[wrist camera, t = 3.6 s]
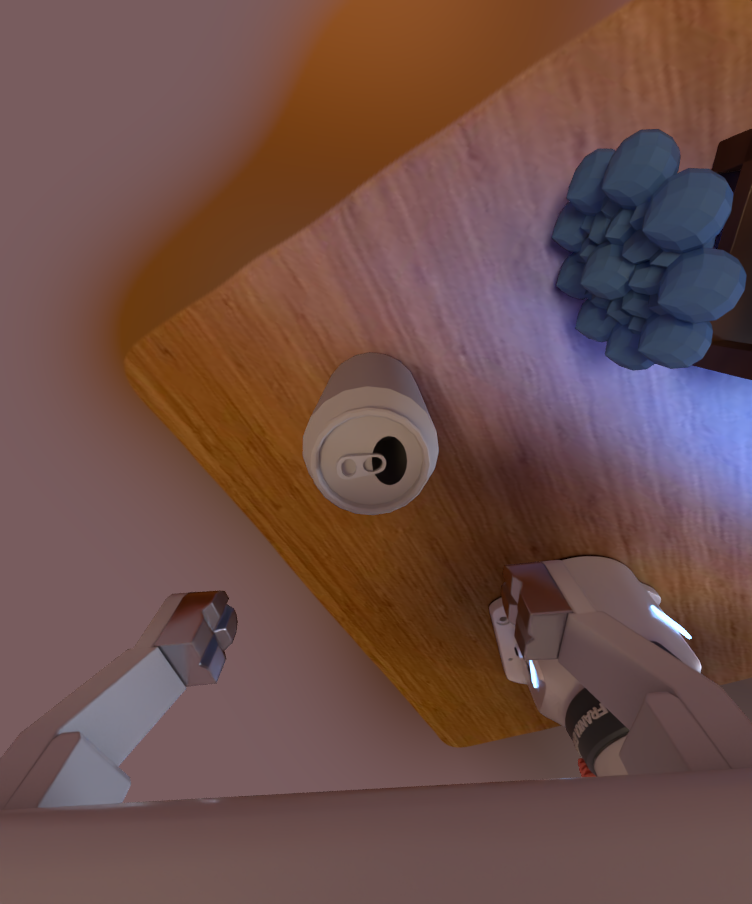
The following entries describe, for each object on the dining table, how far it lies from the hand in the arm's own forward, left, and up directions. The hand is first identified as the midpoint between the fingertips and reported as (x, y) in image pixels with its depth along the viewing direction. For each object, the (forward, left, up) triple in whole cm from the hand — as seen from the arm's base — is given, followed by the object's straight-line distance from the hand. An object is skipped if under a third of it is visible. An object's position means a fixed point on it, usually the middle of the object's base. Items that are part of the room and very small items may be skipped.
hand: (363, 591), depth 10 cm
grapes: (+8, -16, -20) cm, 26 cm away
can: (0, 0, -20) cm, 20 cm away
